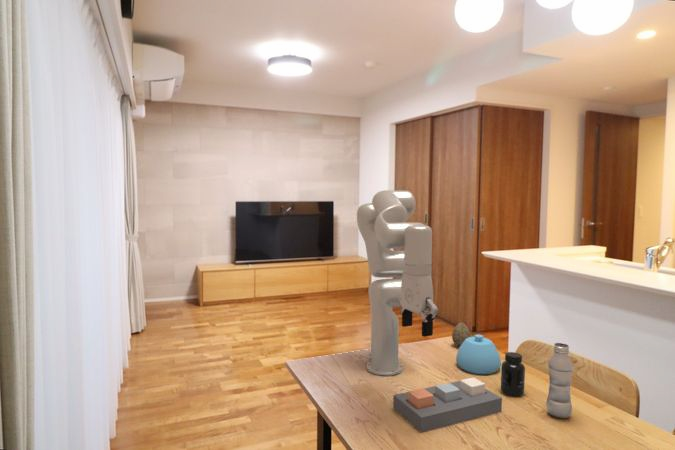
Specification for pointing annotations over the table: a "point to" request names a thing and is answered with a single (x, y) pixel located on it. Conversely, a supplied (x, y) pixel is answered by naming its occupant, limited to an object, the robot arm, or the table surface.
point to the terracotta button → (420, 398)
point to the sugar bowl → (478, 355)
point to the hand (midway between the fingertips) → (416, 330)
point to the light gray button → (447, 392)
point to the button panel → (447, 409)
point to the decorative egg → (460, 334)
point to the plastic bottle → (560, 382)
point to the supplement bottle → (513, 375)
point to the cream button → (472, 387)
